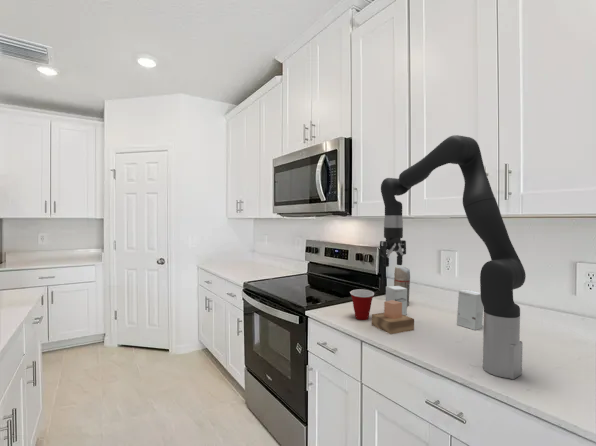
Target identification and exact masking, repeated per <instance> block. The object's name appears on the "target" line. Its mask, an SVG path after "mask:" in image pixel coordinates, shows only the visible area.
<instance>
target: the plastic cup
mask: <svg viewBox="0 0 596 446" xmlns="http://www.w3.org/2000/svg"><path fill="white" fill-rule="evenodd" d="M349 293H350V296H351V300H352V307H353V311H354V317H355V319H356V320H359V321H367V320H368V319H369V317H370V312H371V309H372V308H371V306H372V301H373V299H374V295H375V292H374V291H372V290H369V289H362V288H361V289H360V288H359V289H353V290H351V291H349Z"/></svg>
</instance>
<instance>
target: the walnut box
mask: <svg viewBox="0 0 596 446" xmlns="http://www.w3.org/2000/svg"><path fill="white" fill-rule="evenodd" d="M371 326H373V327H375V328H377V329H379V330H380V331H383V332H384V333H387V334H389V335H393V334H394V335H395V334H400V333H405V332H411V331H415V319H414V318H413V317H410V316H408V315H403V314H402V317H400V318H396V319H392V318H389V317H386V316H384V312H379V313H378V312H377V313H372V314H371Z"/></svg>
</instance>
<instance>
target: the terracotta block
mask: <svg viewBox="0 0 596 446" xmlns="http://www.w3.org/2000/svg"><path fill="white" fill-rule="evenodd" d="M383 303H384V304H383V306H384V307H383V308H384V309H383V313H384V316H386V317H389V318H392V319H396V318H400V317H402V302H398V301H394V300H390V301H386V300H385V301H384V302H383Z"/></svg>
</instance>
